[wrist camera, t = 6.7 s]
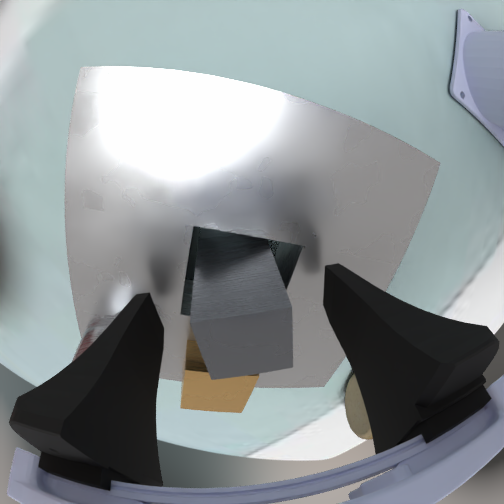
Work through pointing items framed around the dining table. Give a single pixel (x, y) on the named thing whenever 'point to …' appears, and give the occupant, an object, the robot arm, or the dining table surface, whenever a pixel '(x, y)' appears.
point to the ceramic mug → (356, 410)
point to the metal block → (240, 306)
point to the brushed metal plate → (227, 207)
